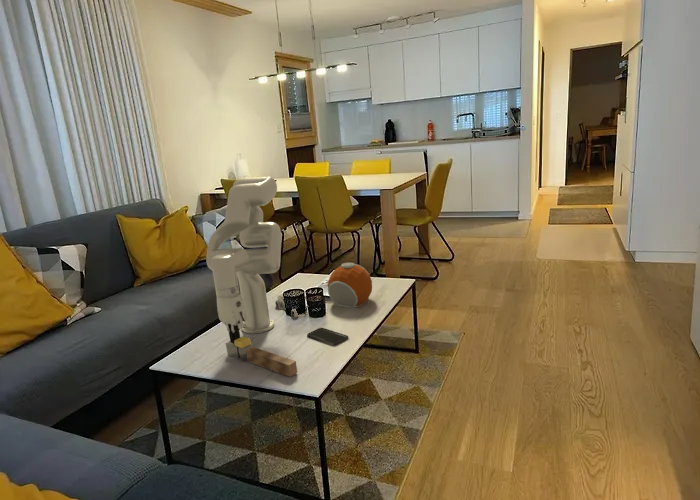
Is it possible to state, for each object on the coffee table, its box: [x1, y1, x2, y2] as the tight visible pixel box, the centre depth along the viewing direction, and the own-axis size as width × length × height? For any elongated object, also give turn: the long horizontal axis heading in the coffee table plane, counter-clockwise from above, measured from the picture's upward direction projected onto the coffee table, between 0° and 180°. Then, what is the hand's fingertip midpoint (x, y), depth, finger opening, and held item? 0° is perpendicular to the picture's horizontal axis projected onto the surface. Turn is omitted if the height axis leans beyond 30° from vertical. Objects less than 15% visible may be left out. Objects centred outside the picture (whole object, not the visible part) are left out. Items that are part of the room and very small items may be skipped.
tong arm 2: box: [250, 346, 298, 375], centre depth 153 cm, size 20×2×4 cm, turn 51°
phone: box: [306, 327, 349, 347], centre depth 172 cm, size 8×1×15 cm
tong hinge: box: [225, 340, 253, 362], centre depth 162 cm, size 10×4×5 cm, turn 52°
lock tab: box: [234, 336, 252, 348], centre depth 160 cm, size 4×4×2 cm
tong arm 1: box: [246, 349, 295, 378], centre depth 152 cm, size 20×2×4 cm, turn 51°
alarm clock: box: [327, 262, 373, 308], centre depth 202 cm, size 19×18×17 cm
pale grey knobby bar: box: [274, 293, 308, 319], centre depth 204 cm, size 11×24×5 cm, turn 32°
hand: (235, 341), depth 162 cm, fingers closed
